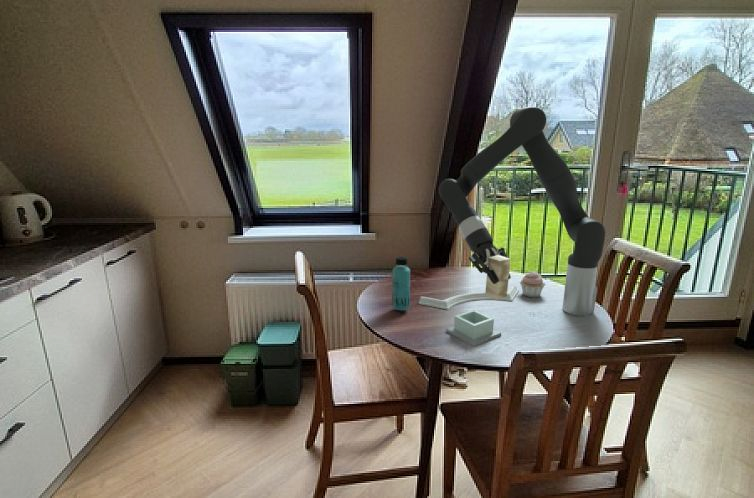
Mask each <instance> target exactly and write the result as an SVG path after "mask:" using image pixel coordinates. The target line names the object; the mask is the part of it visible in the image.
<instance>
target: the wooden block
mask: <svg viewBox="0 0 754 498" xmlns="http://www.w3.org/2000/svg"><path fill="white" fill-rule="evenodd" d="M488 258H489V260H490V264H491V266H492V270H494V272H495V273H496V275H497V277H498V279H499V282H497V283H496V284H493V283H492V282H491V280H490V279H489V277H488V275H487V274H486V282H485V291H484V292H485V295H487V296H490V297H492V298H494V299H500V298H503V297H506V296H507V289H508V288H509V280H508V277H509V274H510V268H511V258H509V257H508V256H507V257H504V256H500V255H496V256H492V257H488Z"/></svg>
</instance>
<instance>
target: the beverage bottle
mask: <svg viewBox="0 0 754 498" xmlns="http://www.w3.org/2000/svg"><path fill="white" fill-rule="evenodd" d="M408 264H409V263H408V258H407V257H406V256H397V257H396V258H395V265H396V266H394V268H392V279H391V280H392V282H391V286H392V294H391V300H392V301H391V303H392V308H393V309H394V310H398V311H406V310H409V308H410V307H411V269H410V268H409V267H408V266H407V265H408Z"/></svg>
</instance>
